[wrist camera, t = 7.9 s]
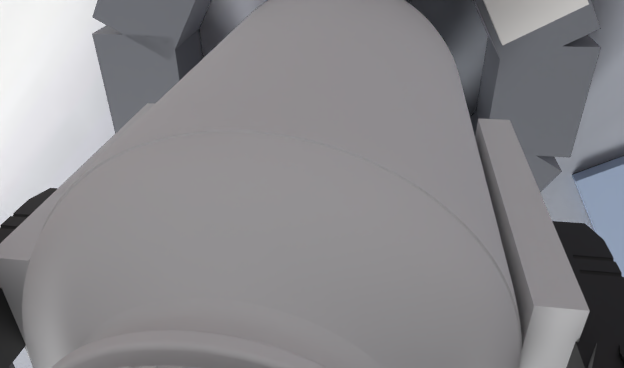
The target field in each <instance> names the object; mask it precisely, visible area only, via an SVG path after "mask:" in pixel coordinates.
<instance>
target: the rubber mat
mask: <svg viewBox="0 0 624 368" xmlns="http://www.w3.org/2000/svg"><path fill="white" fill-rule="evenodd" d="M572 177H573V179H574V182H575V184H576V187H577V189H578V192H579V194H580V196H581V199H582V201H583V204H584V206H585V209H586V211H587V214H588V216H589V219H590V221H591V224H592V226H593V229H594V231H595V233H597V234H598V235H599V236H600V237H601V238H602V239H604V241H605V243H606V245H607V246H608V248H609V250H610V252H611V254H612V256H613V258H614V259H613V260H614V262H616V263H617V265H618V267H619V269H620V271H621V273H622V277H624V156H622V157H619V158H617V159H614V160H611V161H609V162H606V163H603V164H600V165H598V166H595V167H592V168H590V169H587V170H584V171H581V172H579V173H576V174H573V175H572Z"/></svg>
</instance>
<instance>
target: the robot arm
mask: <svg viewBox="0 0 624 368" xmlns="http://www.w3.org/2000/svg"><path fill="white" fill-rule="evenodd" d="M153 105H154V104H153V103H147V104H146V105H145V106H144V107H143V108H142V109H141V110H140V111H139V112H138V113H137V114H136V115H134V116H133V117H132V118H131V119H130V120H129V121H128V122H127V123H126V124H125V125H124V126H123V127H122V128H121V129H120V130H119V131H118V132H117V133H116V134H115V135H113V136H112V137H111V138H110V139H109V140H108V141H107V142H106V143H105V144H104V145H103V146H102V147H101V148H100V149H99V150H98V151H97V152H96V153H95V154H94V155H93V156H91V157H90V158H89V159H88V160H87V161H86V162H85V163H84V164H83V165H82V166H81V167H80V168H79V169H78V170H77V171H76V172H75V173H74V174H73V175H72V176H70V177H69V178H68V179H67V180H66V181H65V182H64V183H63V184H62V185H61V186H60V187H59V188H58V189H57V188H50V189H48V190H46V191H44V192H42V193H40V194H38V195H36V196H35V197H33V198H31V199H29V200H28V201H27V202H26V203H24V204H23V205H22V206H21V207H20V208H19V209H18V210H17V211H16V212H15V213H13V214H14V215H13V216H10V217H9V218H8V219H7V220H6V221H5V222H4V223H2V224H1V228H0V368H15V367H14V364H13V361H14V360H15V358H16V357H17V356H18V355H19V353H20V352H21V351H22V349H23V348H24V347H25V349H26V351H27V353H28V349H27V345H26V341H25V336H24V329H23V319H22V300H23V289H24V283H25V278H26V273H27V269H28V265H29V262H30V258H31V255H32V253H33V250H34V247H35V245H36V242H37V240H38V238H39V236H40V234H41V231H42V228H43V226H44V224H45V222H46V220H47V218H48V216H49V214H50V212H51V211H52V209H53V207H54V206H55V204H56V203H57V202H58V200H59V199H60V198H61V196H62V195H63V194H64V193H65V192H66V190H67V189H68V188H69V187H70V186H71V185H72V184H73V182H74V181H75V180H76V179H77V178H78V177H79V176H80V175H81V174H82V173H83V172H84V171H85V170H86V169H87V168H88V167H89V166H90V165H91V164H92V163H93V162H94V161H95V160H96V159H97V158H98V157H99V156H100V155H101V154H102V153H104V152H105V151H106V150H107V149H108V148H109V147H110V146H111V145H112V144H113V143H114V142H115V141H116V140H117V139H118V138H119V137H120V136H122V135H123V134H124V133H125V132H126V131H127V130H128V129H129V128H130V127H131V126H132V125H133V124H134V123H135V122H136V121H137V120H138V119H140V118H141V117H142V116H143V115H144V114H145V113H146V112H147V111H148V110H149V109H150V108H151V107H152V106H153ZM475 139H476V143H477V147H478V151H479V155H480V159H481V162H482V166H483V170H484V174H485V178H486V182H487V186H488V190H489V194H490V198H491V202H492V206H493V210H494V213H495V217H496V221H497V225H498V229H499V233H500V237H501V241H502V245H503V249H504V253H505V257H506V261H507V265H508V268H509V272H510V276H511V280H512V284H513V288H514V293H515V297H516V302H517V307H518V312H519V319H520V326H521V335H522V356H521V364H520V368H624V277H622V273H621V271H620V269H619V267H618V265H617V263H616V262H614V260H613V259H614V258H613V256H612V254H611V252H610V250H609V248H608V246H607V245H606V243H605V241H604V239H602V238H601V237H600V236H599V235H598V234H597V233H595V232H594V231H593V230H592V229H591V228H589V227H588V226H587V225H586V224H584V223H570V222H555V221H552V220H551V217H550V215H549V212H548V210H547V208H546V205H545V203H544V200H543V198H542V196H541V193H540V191H539V189H538V186H537V184H536V181H535V179H534V177H533V174H532V172H531V169H530V167H529V165H528V162H527V160H526V158H525V155H524V153H523V150H522V148H521V146H520V143H519V141H518V138H517V136H516V134H515V131H514V129H513V127H512V124H511V122H510V120H501V119H479V118H478V123H477V129H476V135H475ZM28 356H29V353H28ZM29 358H30V357H29Z"/></svg>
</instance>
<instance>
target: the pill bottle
mask: <svg viewBox="0 0 624 368" xmlns="http://www.w3.org/2000/svg"><path fill="white" fill-rule="evenodd" d="M22 319H23V329H24V336H25V341H26V345H27V349H28V353H29V357H30V360H31V363H32V365H33V368H520V364H521V356H522V335H521V326H520V319H519V312H518V307H517V302H516V297H515V293H514V288H513V284H512V280H511V276H510V272H509V268H508V265H507V261H506V257H505V253H504V249H503V245H502V241H501V237H500V233H499V229H498V225H497V221H496V217H495V213H494V210H493V206H492V202H491V198H490V194H489V190H488V186H487V182H486V178H485V174H484V170H483V166H482V162H481V159H480V155H479V151H478V147H477V143H476V139H475V135H474V131H473V127H472V123H471V119H470V115H469V111H468V108H467V104H466V100H465V96H464V92H463V88H462V84H461V80H460V76H459V72H458V69H457V66H456V63H455V61H454V58H453V56H452V54H451V52H450V50H449V48H448V46H447V45H446V43H445V41H444V40H443V38H442V37H441V35H440V34H439V33H438V31H437V30H436V29H435V27H434V26H433V25H432V24H431V23H430V21H429V20H428V19H427V18H426V17H425V16H424V15H423V14H422V13H420V12H419V11H418V10H417V9H416V8H415V7H413V6H412V5H411V4H409V3H408V2H406V1H405V0H268V1H266V2H265V3H263V4H262V5H260V6H259V7H258V8H257V9H255V10H254V11H253V12H252V13H251V14H250V15H249V16H247V17H246V18H245V19H244V20H243V21H242V22H241V23H240V24H239V25H238V26H237V27H236V28H235V29H234V30H233V31H232V32H231V33H229V34H228V35H227V36H226V37H225V38H224V39H223V40H222V41H221V42H220V43H219V44H218V45H217V46H216V47H215V48H214V49H213V50H211V51H210V52H209V53H208V54H207V55H206V56H205V57H204V58H203V59H202V60H201V61H200V62H199V63H198V64H197V65H196V66H195V67H194V68H192V69H191V70H190V71H189V72H188V73H187V74H186V75H185V76H184V77H183V78H182V79H181V80H180V81H179V82H178V83H177V84H176V85H174V86H173V87H172V88H171V89H170V90H169V91H168V92H167V93H166V94H165V95H164V96H163V97H162V98H161V99H160V100H159V101H158V102H156V103H155V104H154V105H153V106H152V107H151V108H150V109H149V110H148V111H147V112H146V113H145V114H144V115H143V116H142V117H141V118H140V119H138V120H137V121H136V122H135V123H134V124H133V125H132V126H131V127H130V128H129V129H128V130H127V131H126V132H125V133H124V134H123V135H122V136H120V137H119V138H118V139H117V140H116V141H115V142H114V143H113V144H112V145H111V146H110V147H109V148H108V149H107V150H106V151H105V152H104V153H102V154H101V155H100V156H99V157H98V158H97V159H96V160H95V161H94V162H93V163H92V164H91V165H90V166H89V167H88V168H87V169H86V170H85V171H84V172H83V173H82V174H81V175H80V176H79V177H78V178H77V179H76V180H75V181H74V182H73V184H72V185H71V186H70V187H69V188H68V189H67V190H66V192H65V193H64V194H63V195H62V196H61V198H60V199H59V200H58V202H57V203H56V204H55V206H54V207H53V209H52V211H51V212H50V214H49V216H48V218H47V220H46V222H45V224H44V226H43V228H42V231H41V234H40V236H39V238H38V240H37V242H36V245H35V247H34V250H33V253H32V255H31V258H30V262H29V265H28V269H27V273H26V278H25V283H24V289H23V300H22Z"/></svg>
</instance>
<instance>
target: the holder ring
mask: <svg viewBox="0 0 624 368" xmlns="http://www.w3.org/2000/svg"><path fill="white" fill-rule="evenodd" d="M210 2H211V0H98V1H97V4H96V7H95V11H94V14H93V18H95V19H97V20H98V21H100V22H102V23H104V24H105V25H107V26H105V27H103V28H101V29H100V30H98V31H96V32H94V33H93V34H92V35H93V40H94V44H95V48H96V52H97V57H98V61H99V65H100V70H101V74H102V78H103V82H104V87H105V91H106V95H107V100H108V104H109V108H110V112H111V117H112V121H113V125H114V130H115V134H116V133H117V132H118V131H119V130H120V129H121V128H122V127H123V126H124V125H125V124H126V123H127V122H128V121H129V120H130V119H131V118H132V117H133V116H134V115H136V114H137V113H138V112H139V111H140V110H141V109H142V108H143V107H144V106H145V105H146V104H147V103H153V104H155V103H156V102H158V101H159V100H160V99H161V98H162V97H163V96H164V95H165V94H166V93H167V92H168V91H169V90H170V89H171V88H172V87H173V86H174V85H176V84H177V83H178V82H179V81H180V80H181V79H182V78H183V77H184V76H185V75H186V74H187V73H188V72H189V71H190V70H191V69H192V68H194V67H195V66H196V65H197V64H198V63H199V62H200V61H201V60H202V59H203V58H202V50H201V42H200V34H199V28H200V25H201V23H202V21H203V18H204V16H205V14H206V11H207V9H208V7H209V4H210ZM473 2H474V4H475V6H476V9H477V11H478V13H479V16H480V18H481V20H482V23H483V25H484V27H485V30H486V32H487V34H488V41H487V47H486V53H485V59H484V65H483V72H482V78H481V84H480V90H479V96H478V102H477V108H476V111H475V113H474V114H473V115H472V116H471V117H470V119H471V123H472V127H473V131H474V135H476V129H477V123H478V118H479V119H501V120H510V122H511V124H512V127H513V129H514V131H515V134H516V136H517V138H518V141H519V143H520V146H521V148H522V150H523V153H524V155H525V158H526V160H527V162H528V165H529V167H530V169H531V172H532V174H533V177H534V179H535V181H536V184H537V186H538V189H539V191H540V192H541V191H542V190H543V189H544V188H545V187H546V186H547V185H548V184H549V183H550V182H551V181H552V180H553V179H554V178H555V177H556V176H558V175H559V174H560V173H561V172H562V171H561V169H560V167H559V165H558V163H557V161H556V159H555V157H570V156H571V153H572V149H573V146H574V142H575V139H576V135H577V131H578V128H579V124H580V121H581V117H582V113H583V110H584V106H585V103H586V99H587V95H588V92H589V88H590V85H591V81H592V77H593V74H594V70H595V67H596V63H597V59H598V56H599V52H600V49H601V47H600V46H599V45H598V44H597V43H596V42H595V41H593V40H592V39H591V38H590V37H589V36H588V34H590V33H592V32H594V31H597V30H599V29H601V28H600V25H599V22H598V19H597V16H596V13H595V10H594V7H593V4H592V1H591V0H473Z"/></svg>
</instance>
